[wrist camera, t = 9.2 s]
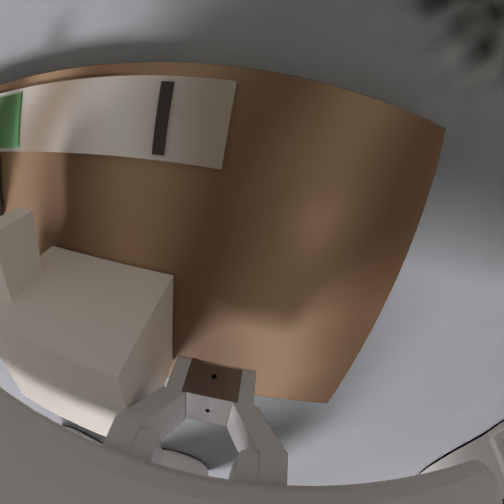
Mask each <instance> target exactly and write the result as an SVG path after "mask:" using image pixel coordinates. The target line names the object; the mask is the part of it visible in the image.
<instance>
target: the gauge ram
mask: <svg viewBox="0 0 504 504" xmlns="http://www.w3.org/2000/svg"><path fill="white" fill-rule="evenodd" d="M173 278H174V275H169V274H165V273H160V272H156V271H152V270H147V269H143V268H139V267H134V266H130V265H126V264H122V263H118V262H114V261H110V260H106V259H102V258H98V257H94V256H90V255H86V254H82V253H78V252H74V251H70V250H67V249H63V248H59V247H56V246H52V247H51V248H49V249H48V250H47V251H45V252H44V253H43V254H41V255H39V249H38V243H37V237H36V230H35V222H34V213H33V210H29V209H24V208H19V207H16V208H14V209H13V210H11V211H9V212H7V213H5V214H4V215H2V216H0V356H1V358H2V360H3V362H4V364H5V366H6V367H7V369H8V371H9V373H10V374H11V376H12V378H13V379H14V381H15V383H16V384H17V386H18V387H19V389H20V391H21V392H22V394H23V395H24V396H26V397H27V398H29V399H31V400H32V401H34V402H36V403H37V404H39V405H41V406H43V407H44V408H46V409H48V410H50V411H52V412H53V413H55V414H57V415H59V416H61V417H63V418H65V419H67V420H69V421H71V422H73V423H75V424H77V425H80V426H82V427H84V428H86V429H88V430H91V431H93V432H95V433H98V434H100V435H102V436H105V437H106V436H107V434H108V432H109V429H110V427H111V425H112V423H113V420H114V418H115V416H116V415H118V414H119V413H121V412H123V411H124V410H126V409H128V408H129V407H131V406H132V405H134V404H136V403H137V402H139V401H141V400H142V399H144V398H145V397H147V396H148V395H150V394H152V393H153V392H155V391H156V390H158V389H159V388H161V387H162V386H164V383H165V381H166V378H167V375H168V373H169V370H170V367H171V365H172V362H173V354H172V316H173Z"/></svg>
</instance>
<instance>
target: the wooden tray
mask: <svg viewBox="0 0 504 504" xmlns="http://www.w3.org/2000/svg"><path fill="white" fill-rule="evenodd" d="M445 130H446V128H444V127H441V126H439V125H437V124H435V123H433V122H431V121H429V120H427V119H424V118H422V117H420V116H418V115H415V114H413V113H411V112H408V111H406V110H403V109H401V108H398V107H396V106H393V105H391V104H388V103H385V102H382V101H380V100H377V99H374V98H371V97H368V96H365V95H362V94H359V93H356V92H353V91H350V90H346V89H343V88H339V87H336V86H332V85H329V84H325V83H321V82H317V81H313V80H309V79H304V78H300V77H295V76H291V75H286V74H281V73H275V72H270V71H264V70H257V69H251V68H243V67H235V66H227V65H216V64H204V63H187V62H132V63H115V64H103V65H93V66H85V67H78V68H71V69H65V70H59V71H53V72H48V73H43V74H39V75H34V76H30V77H26V78H22V79H18V80H14V81H11V82H7V83H4V84H0V175H1V189H2V200H3V208H4V214H5V213H7V212H9V211H11V210H13V209H14V208H16V207H19V208H24V209H29V210H33V213H34V222H35V230H36V237H37V243H38V249H39V255H41V254H43V253H44V252H45V251H47V250H48V249H49V248H51V247H52V246H56V247H59V248H63V249H67V250H70V251H74V252H78V253H82V254H86V255H90V256H94V257H98V258H102V259H106V260H110V261H114V262H118V263H122V264H126V265H130V266H134V267H139V268H143V269H147V270H152V271H156V272H160V273H165V274H169V275H174V278H173V316H172V354H173V362H172V365H171V367H170V370H169V373H168V375H167V377H170V376H171V373H172V371H173V368H174V365H175V363H176V360H177V358H178V356H179V355H184V356H188V357H192V358H196V359H200V360H204V361H208V362H212V363H219V364H224V365H229V366H235V367H241V368H245V369H251V370H256V382H255V393H254V395H259V396H266V397H273V398H281V399H290V400H299V401H310V402H323V403H328V401H329V400H330V398H331V397H332V395H333V394H334V392H335V391H336V389H337V388H338V386H339V385H340V383H341V381H342V380H343V378H344V377H345V375H346V373H347V372H348V370H349V368H350V367H351V365H352V363H353V362H354V360H355V358H356V357H357V355H358V353H359V351H360V350H361V348H362V346H363V344H364V343H365V341H366V339H367V337H368V335H369V333H370V331H371V330H372V328H373V326H374V324H375V322H376V320H377V318H378V316H379V314H380V312H381V310H382V308H383V306H384V304H385V302H386V300H387V298H388V296H389V294H390V291H391V289H392V287H393V285H394V283H395V281H396V278H397V276H398V274H399V271H400V269H401V267H402V264H403V262H404V260H405V257H406V255H407V252H408V250H409V247H410V245H411V242H412V240H413V237H414V234H415V232H416V229H417V226H418V224H419V221H420V218H421V215H422V212H423V209H424V206H425V203H426V200H427V197H428V194H429V191H430V187H431V184H432V181H433V177H434V174H435V170H436V167H437V163H438V159H439V155H440V151H441V147H442V143H443V139H444V134H445Z"/></svg>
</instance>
